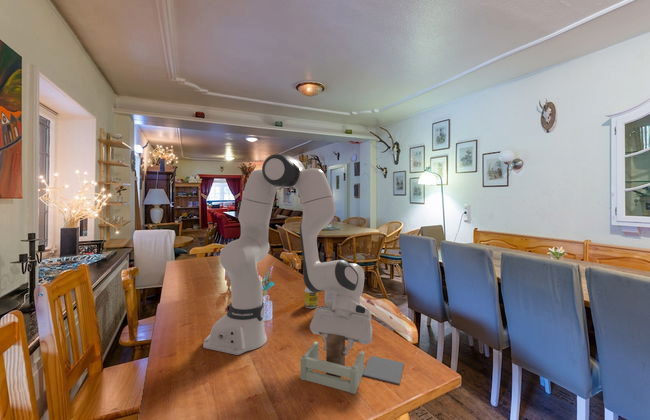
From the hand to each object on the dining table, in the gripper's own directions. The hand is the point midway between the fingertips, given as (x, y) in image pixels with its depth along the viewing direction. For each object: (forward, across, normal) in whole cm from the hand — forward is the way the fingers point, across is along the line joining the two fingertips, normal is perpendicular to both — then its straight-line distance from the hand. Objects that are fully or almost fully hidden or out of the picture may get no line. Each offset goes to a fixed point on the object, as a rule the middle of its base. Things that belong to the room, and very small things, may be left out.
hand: (335, 352), depth 88 cm
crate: (+6, 0, +3) cm, 7 cm away
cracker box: (-27, -14, +36) cm, 47 cm away
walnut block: (+4, 0, +5) cm, 6 cm away
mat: (-1, +14, +10) cm, 17 cm away
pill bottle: (-27, -28, +36) cm, 53 cm away
